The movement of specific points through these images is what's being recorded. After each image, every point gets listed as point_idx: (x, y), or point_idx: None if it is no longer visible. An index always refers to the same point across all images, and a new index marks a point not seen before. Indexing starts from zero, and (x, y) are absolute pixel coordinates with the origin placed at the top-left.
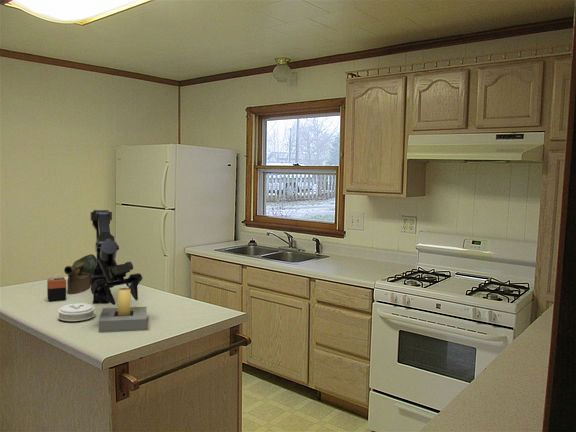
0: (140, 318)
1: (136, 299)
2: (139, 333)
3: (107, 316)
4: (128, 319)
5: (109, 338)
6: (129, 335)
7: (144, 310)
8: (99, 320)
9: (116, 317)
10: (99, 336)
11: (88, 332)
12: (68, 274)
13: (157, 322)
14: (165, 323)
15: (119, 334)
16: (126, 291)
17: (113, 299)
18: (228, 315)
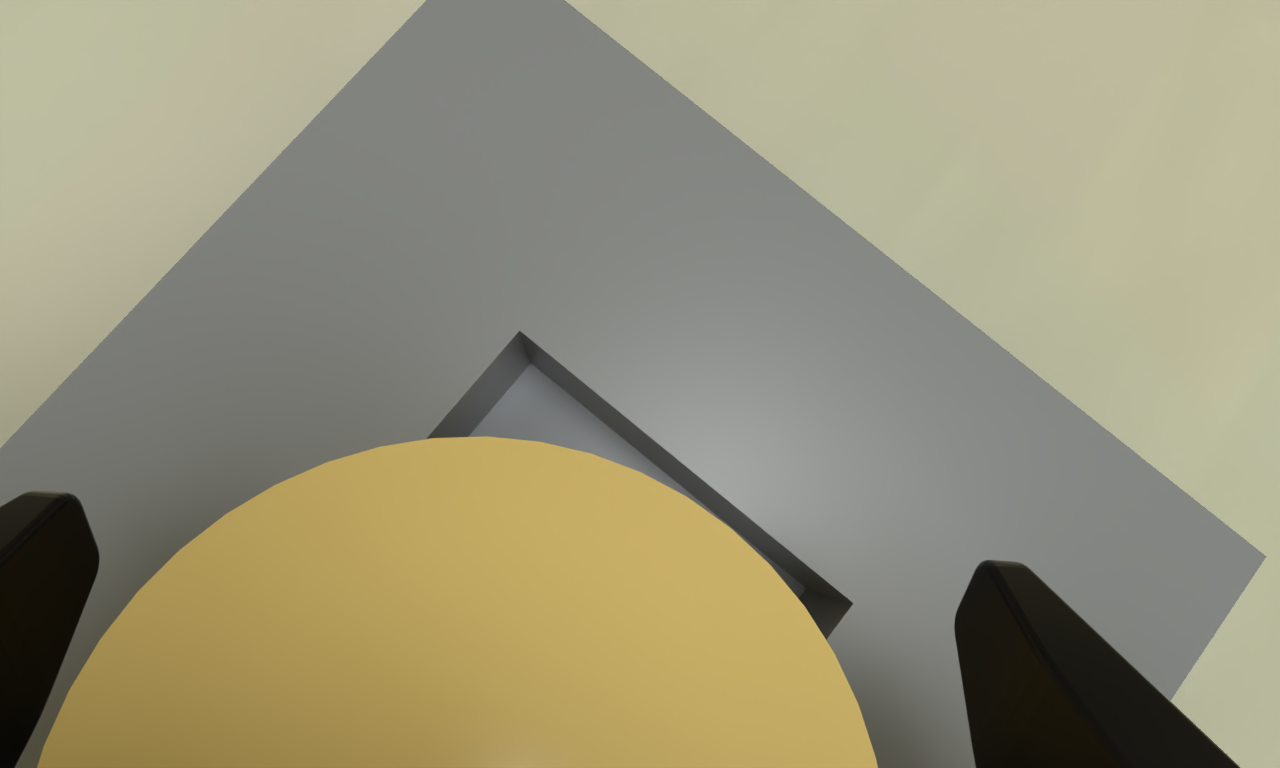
0: (542, 56)
1: (82, 532)
2: (692, 12)
3: (954, 716)
4: (760, 185)
5: (1145, 171)
6: (856, 55)
7: (40, 476)
8: (1232, 584)
9: (854, 496)
10: (1208, 362)
11: (1241, 673)
12: None
13: (82, 225)
14: (35, 76)
15: (937, 206)
16: (582, 458)
17: (1099, 671)
18: None
